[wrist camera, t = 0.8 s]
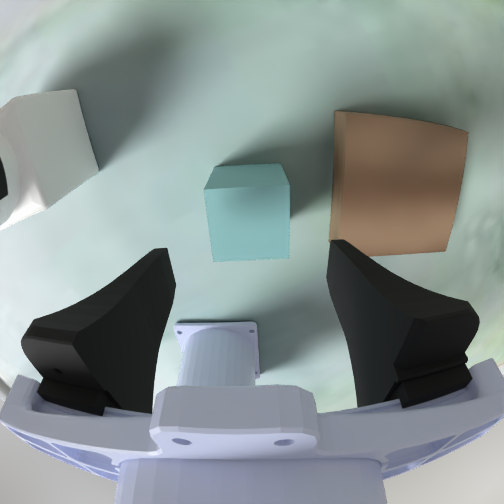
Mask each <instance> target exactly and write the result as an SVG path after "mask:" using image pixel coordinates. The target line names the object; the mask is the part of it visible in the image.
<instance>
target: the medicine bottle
mask: <svg viewBox="0 0 504 504" xmlns="http://www.w3.org/2000/svg"><path fill="white" fill-rule="evenodd" d="M98 171H99V168H98V165H97V162H96V159H95V156H94V153H93V149H92V146H91V143H90V140H89V136H88V133H87V129H86V126H85V122H84V118H83V115H82V111H81V107H80V103H79V99H78V95H77V91H76V90H74V89H69V90H59V91H51V92H43V93H36V94H30V95H24V96H19V97H15V98H13V99H11V100H10V101H9V102H8V103H7V104H5V105H4V106H3V107H2V108H1V109H0V231H1V230H3V229H5V228H7V227H9V226H11V225H13V224H15V223H17V222H20V221H22V220H24V219H26V218H28V217H30V216H33V215H35V214H37V213H40V212H42V211H44V210H47V209H48V208H50V207H51V206H52V205H54V204H55V203H56V202H58V201H59V200H60V199H62V198H63V197H64V196H66V195H67V194H68V193H70V192H71V191H73V190H74V189H76V188H77V187H78V186H80V185H81V184H83V183H84V182H86V181H87V180H89V179H90V178H92V177H93V176H95V175H96V174H97V173H98Z"/></svg>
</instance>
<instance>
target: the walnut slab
mask: <svg viewBox="0 0 504 504" xmlns="http://www.w3.org/2000/svg"><path fill="white" fill-rule="evenodd" d="M467 141H468V132H466V131H463V130H460V129H457V128H454V127H451V126H447V125H442V124H437V123H432V122H427V121H421V120H415V119H409V118H403V117H395V116H388V115H380V114H370V113H360V112H347V111H334V163H333V186H332V204H331V218H330V231H329V243H330V240H338V239H344V240H346V241H347V242H349V243H350V244H352V245H353V246H354V247H356V248H357V249H358V250H360V251H361V252H363V253H364V254H365V255H367V256H368V257H369V256H385V255H401V254H416V253H430V252H445V251H446V248H447V244H448V241H449V237H450V234H451V230H452V226H453V222H454V218H455V214H456V209H457V205H458V200H459V195H460V190H461V184H462V178H463V172H464V166H465V159H466V151H467Z"/></svg>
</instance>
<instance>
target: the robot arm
mask: <svg viewBox="0 0 504 504" xmlns="http://www.w3.org/2000/svg"><path fill="white" fill-rule="evenodd" d="M326 278H327V283H328V287H329V292H330V296H331V299H332V301H333V304H334V307H335V310H336V312H337V315H338V318H339V320H340V323H341V326H342V329H343V331H344V334H345V337H346V341H347V345H348V349H349V354H350V359H351V364H352V370H353V375H354V382H355V389H356V397H357V407H358V408H353V409H347V410H341V411H334V412H327V413H317V409H316V403H315V399H314V396H313V393H311V392H309V391H307V390H305V389H302V388H300V387H298V386H292V385H259V386H255V380H256V379H259V378H260V368H259V351H258V334H257V324H256V323H255V322H224V323H176V324H175V325H174V331H175V334H176V337H177V340H178V343H179V345H180V348H181V351H182V354H183V355H182V360H181V365H180V371H179V376H178V381H177V386H173V387H168V388H165V389H164V390H162V391H161V392H159V393H158V394H157V395H156V400H155V404H154V409H153V414H152V405H153V391H154V380H155V372H156V364H157V358H158V352H159V347H160V343H161V340H162V336H163V333H164V330H165V327H166V324H167V320H168V317H169V314H170V311H171V308H172V304H173V300H174V295H175V288H176V282H175V278H174V274H173V270H172V266H171V262H170V258H169V254H168V249H167V248H157V249H153V250H152V251H150V252H149V253H148V254H146V255H145V256H144V257H143V258H141V259H140V260H139V261H138V262H136V263H135V264H134V265H133V266H132V267H130V268H129V269H128V270H127V271H125V272H124V273H123V274H121V275H120V276H119V277H117V278H116V279H115V280H114V281H112V282H111V283H109V284H108V285H107V286H105V287H104V288H102V289H101V290H99V291H97V292H96V293H94V294H92V295H91V296H89V297H87V298H85V299H83V300H81V301H80V302H78V303H76V304H74V305H72V306H69V307H67V308H65V309H62V310H60V311H58V312H55V313H52V314H49V315H46V316H43V317H40V318H37V319H34V320H33V322H32V323H31V325H30V326H29V328H28V329H27V331H26V333H25V334H24V336H23V337H22V340H21V346H22V349H23V351H24V353H25V355H26V356H27V358H28V359H29V361H30V362H31V363H32V364H33V366H34V367H35V368H36V369H37V371H38V372H39V373H40V374H41V376H42V377H43V379H42V382H41V384H40V383H39V382H38V381H36V380H34V379H32V378H28V377H25V376H22V375H18V376H17V378H16V379H15V382H14V384H13V386H12V388H11V390H10V392H9V394H8V396H7V398H6V400H5V403H4V405H3V407H2V410H1V412H0V422H1V423H2V424H3V425H4V426H5V427H7V428H8V429H9V430H10V431H11V432H13V433H14V434H15V435H16V436H18V437H19V438H20V439H22V440H23V441H24V442H26V443H27V444H28V445H30V446H31V447H33V448H34V449H36V450H38V451H40V452H43V453H45V454H47V455H49V456H52V457H54V458H56V459H58V460H60V461H63V462H65V463H67V464H70V465H72V466H74V467H77V468H79V469H82V470H84V471H87V472H90V473H93V474H95V475H98V476H101V477H104V478H106V479H110V480H113V481H116V482H117V487H116V494H115V499H114V504H387V500H386V495H385V489H384V485H383V480H385V479H388V478H391V477H394V476H397V475H400V474H402V473H405V472H407V471H410V470H413V469H415V468H417V467H420V466H422V465H425V464H427V463H429V462H431V461H434V460H436V459H438V458H440V457H442V456H444V455H446V454H449V453H451V452H452V451H455V450H457V449H459V448H461V447H463V446H464V445H466V444H468V443H470V442H472V441H474V440H476V439H478V438H479V437H481V436H483V435H484V434H485V433H486V432H488V431H489V430H490V429H491V428H493V427H494V426H495V425H496V424H497V423H498V422H499V421H500V420H501V419H503V418H504V378H503V376H502V374H501V372H500V370H499V368H498V367H497V365H496V363H495V361H494V360H493V358H490V359H488V360H485V361H483V362H480V363H478V364H475V365H474V366H472V367H471V368H469V370H468V368H467V366H466V364H465V363H467V361H468V357H467V356H466V354H465V351H466V350H467V348H468V346H469V345H470V343H471V342H472V340H473V338H474V337H475V335H476V333H477V330H478V327H479V323H480V321H479V316H478V315H477V313H476V312H475V310H474V309H473V308H472V306H471V305H470V303H469V302H468V301H464V300H460V299H455V298H451V297H447V296H444V295H441V294H438V293H435V292H432V291H430V290H427V289H424V288H422V287H420V286H418V285H415V284H413V283H411V282H409V281H407V280H405V279H403V278H401V277H399V276H397V275H396V274H394V273H392V272H390V271H389V270H387V269H386V268H384V267H383V266H381V265H379V264H378V263H377V262H375V261H374V260H372V259H371V258H369V257H368V256H367V255H365V254H364V253H363V252H361V251H360V250H358V249H357V248H356V247H354V246H353V245H352V244H350V243H349V242H347V241H346V240H344V239H338V240H330V250H329V259H328V268H327V277H326Z"/></svg>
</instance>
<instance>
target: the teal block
mask: <svg viewBox="0 0 504 504" xmlns="http://www.w3.org/2000/svg"><path fill="white" fill-rule="evenodd" d="M204 196H205V204H206V212H207V219H208V227H209V234H210V242H211V249H212V256H213V262H222V261H244V260H265V259H286V258H289V250H290V184H289V182H288V179H287V177H286V175H285V172H284V170H283V168H282V165H281V163H273V164H250V165H233V166H219V167H214V169H213V171H212V173H211V175H210V177H209V180H208V182H207V184H206V186H205V188H204Z"/></svg>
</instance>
